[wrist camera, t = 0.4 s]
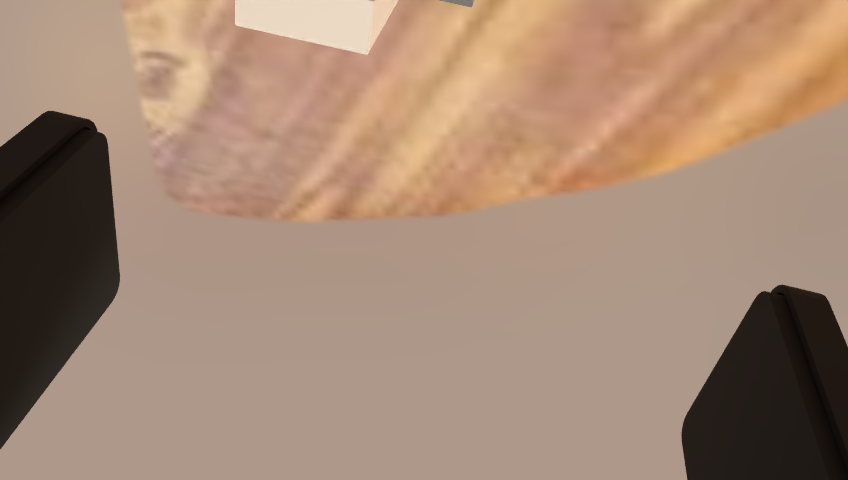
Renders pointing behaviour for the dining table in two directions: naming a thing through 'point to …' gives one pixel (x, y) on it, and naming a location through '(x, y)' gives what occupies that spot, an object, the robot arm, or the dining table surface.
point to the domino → (318, 20)
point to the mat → (461, 2)
